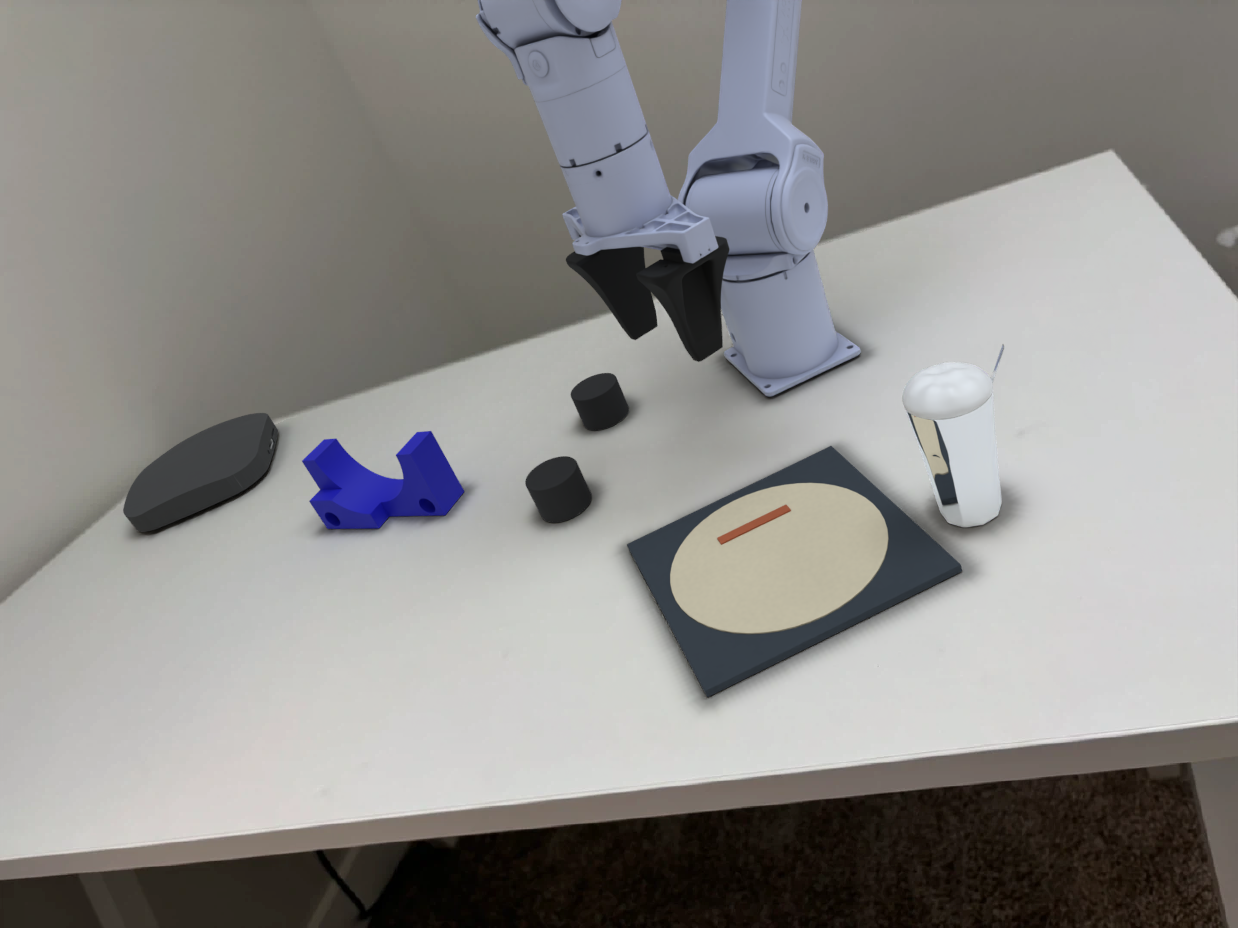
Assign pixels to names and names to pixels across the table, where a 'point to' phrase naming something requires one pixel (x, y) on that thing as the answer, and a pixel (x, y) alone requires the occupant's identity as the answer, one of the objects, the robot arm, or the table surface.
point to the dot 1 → (558, 489)
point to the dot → (600, 401)
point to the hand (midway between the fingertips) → (674, 342)
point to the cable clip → (381, 485)
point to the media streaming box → (201, 471)
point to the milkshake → (957, 438)
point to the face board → (784, 567)
